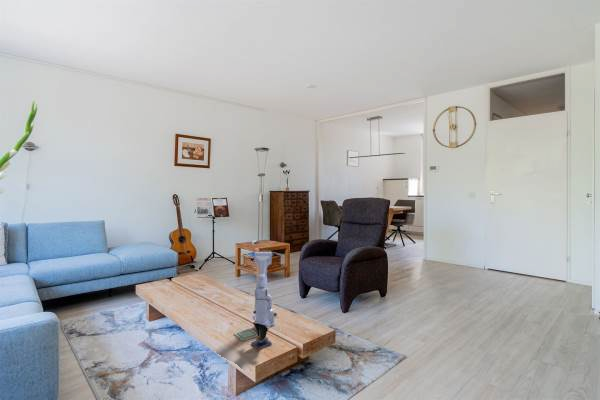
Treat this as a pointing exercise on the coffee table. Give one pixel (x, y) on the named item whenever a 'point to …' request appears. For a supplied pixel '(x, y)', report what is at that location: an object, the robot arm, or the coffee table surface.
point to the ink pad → (261, 344)
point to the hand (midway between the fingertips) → (261, 337)
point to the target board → (246, 334)
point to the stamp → (260, 338)
